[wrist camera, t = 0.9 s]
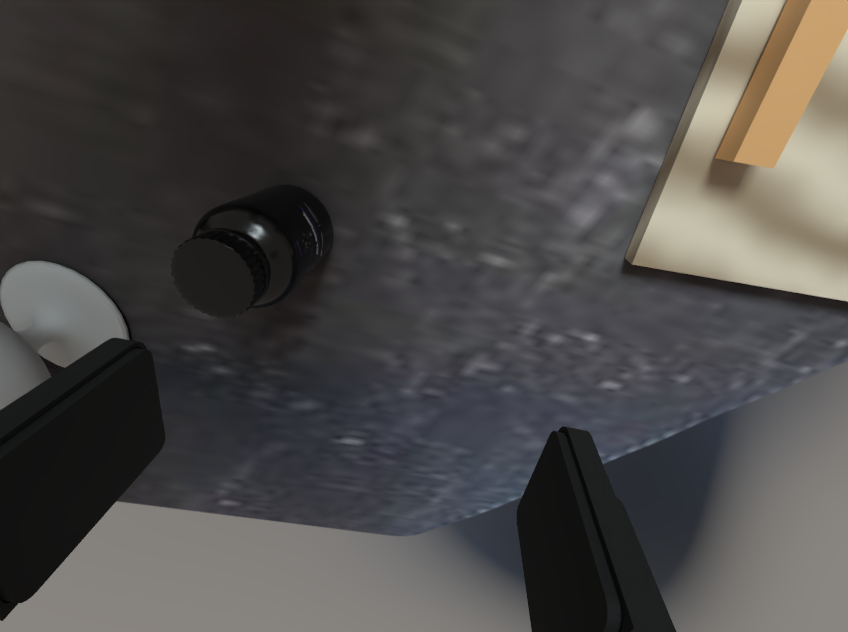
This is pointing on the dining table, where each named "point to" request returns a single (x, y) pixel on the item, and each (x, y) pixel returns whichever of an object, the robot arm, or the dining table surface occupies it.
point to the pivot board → (753, 178)
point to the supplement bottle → (252, 251)
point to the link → (785, 80)
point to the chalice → (49, 323)
